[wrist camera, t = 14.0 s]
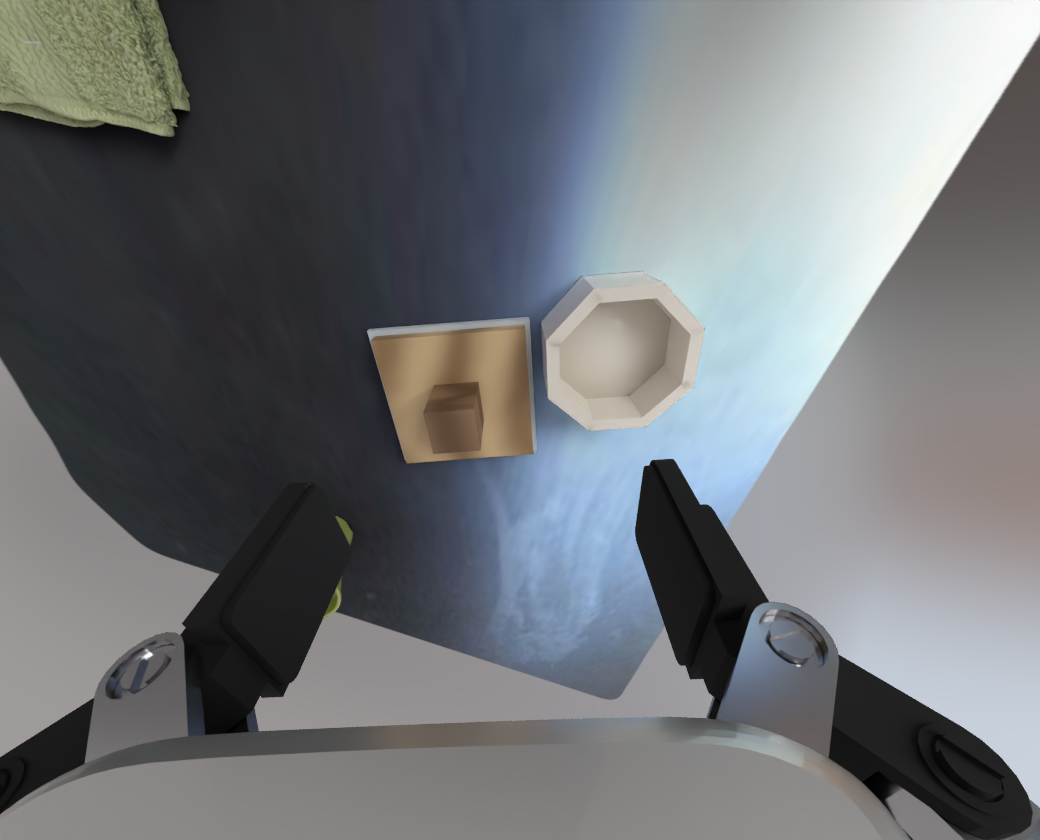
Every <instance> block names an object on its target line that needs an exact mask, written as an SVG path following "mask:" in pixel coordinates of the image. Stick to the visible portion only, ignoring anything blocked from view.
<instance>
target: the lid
mask: <svg viewBox="0 0 1040 840" xmlns="http://www.w3.org/2000/svg"><path fill="white" fill-rule="evenodd" d="M371 345H372V348H373V352H374V355H375V358H376V362H377V365H378V368H379V372H380V375H381V378H382V382H383V385H384V389H385V392H386V395H387V399H388V402H389V405H390V409H391V412H392V416H393V419H394V422H395V426H396V429H397V432H398V436H399V439H400V443H401V446H402V449H403V453H404V456H405V459H406V463H418V462H432V461H445V460H458V459H472V458H485V457H499V456H512V455H525V454H533V440H532V424H531V409H530V394H529V379H528V364H527V348H526V333H525V324H522V325H510V326H497V327H484V328H472V329H459V330H447V331H434V332H422V333H409V334H397V335H384V336H375V337H374V338H373V339H372V340H371Z"/></svg>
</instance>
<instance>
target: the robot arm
mask: <svg viewBox="0 0 1040 840" xmlns="http://www.w3.org/2000/svg"><path fill="white" fill-rule="evenodd" d="M635 535H636V541H637V544H638V547H639V550H640V553H641V556H642V559H643V562H644V565H645V568H646V571H647V574H648V577H649V580H650V583H651V586H652V589H653V592H654V595H655V598H656V601H657V604H658V607H659V610H660V613H661V616H662V619H663V622H664V625H665V627H666V630H667V633H668V636H669V639H670V642H671V645H672V648H673V651H674V654H675V657H676V660H677V661H678V663H679V665H681V666H682V665H686V668H687V671H688V674H689V677H690V679H704V682H705V684H706V687H707V690H708V692H709V693H710V694H711V695H712V696H713V699H712V702H711V706H710V708H709V712H708V715H707V718H685V717H683V718H682V717H631V718H630V717H628V718H586V719H585V718H583V719H557V720H556V719H554V720H526V721H496V722H470V723H448V724H447V723H446V724H445V723H444V724H419V725H394V726H370V727H349V728H348V727H347V728H325V729H303V730H283V731H282V730H281V731H258V725H257V719H256V714H255V709H254V707H255V704H256V703H257V701H258V699H259V697H260V696H261V697H262V698H264V697H265V698H266V697H283V696H284V693H285V691H286V689H287V687H288V685H289V683H291V682H292V681H294V679H295V678H296V677H297V675H298V673H299V671H300V669H301V666H302V664H303V662H304V660H305V657H306V655H307V653H308V650H309V649H310V646H311V644H312V642H313V640H314V637H315V635H316V633H317V630H318V628H319V626H320V624H321V622H322V619H323V617H324V615H325V613H326V610H327V608H328V606H329V604H330V602H331V599H332V597H333V595H334V593H335V590H336V588H337V586H338V584H339V581H340V579H341V577H342V575H343V572H344V570H345V568H346V566H347V564H348V561H349V559H350V556H351V547H350V544H349V542H348V540H347V538H346V536H345V534H344V532H343V530H342V528H341V527H340V525H339V523H338V521H337V519H336V517H335V515H334V513H333V511H332V509H331V507H330V505H329V503H328V501H327V499H326V497H325V495H324V493H323V491H322V489H321V488H320V487H317V486H316V485H315V484H314V483H312V482H307V483H292V484H289V485H288V486H287V487H286V488H285V489H284V491H283V492H282V493H281V495H280V496H279V497H278V499H277V500H276V501H275V502H274V504H273V505H272V506H271V508H270V509H269V510H268V512H267V513H266V514H265V516H264V517H263V518H262V520H261V521H260V522H259V523H258V525H257V526H256V527H255V529H254V530H253V531H252V533H251V534H250V535H249V537H248V538H247V539H246V540H245V542H244V543H243V544H242V546H241V547H240V548H239V550H238V551H237V552H236V554H235V555H234V556H233V558H232V559H231V560H230V561H229V563H228V564H227V565H226V567H225V568H224V569H223V571H222V572H221V573H220V575H219V576H218V577H217V578H216V580H215V581H214V582H213V584H212V585H211V586H210V588H209V589H208V591H207V592H206V593H205V594H204V596H203V597H202V598H201V599H200V601H199V602H198V603H197V605H196V606H195V608H194V609H193V610H192V611H191V613H190V614H189V615H188V616H187V618H186V619H185V620H184V622H183V623H182V624H183V625H184V626H185V627H186V628H185V630H184V631H183V633H182V634H181V635H179V634H177V633H172V632H166V633H162V634H158V635H155V636H153V637H150V638H148V639H146V640H144V641H142V642H140V643H139V644H137V645H136V646H134V647H133V648H131V649H130V650H128V651H127V652H126V653H125V654H124V655H123V656H121V657H120V658H119V659H118V660H117V661H116V662H115V663H114V664H113V665H112V666H111V667H110V668H109V669H108V671H107V672H106V673H105V675H104V676H103V678H102V679H101V681H100V682H99V684H98V687H97V690H96V692H95V696H94V698H93V699H91V700H90V701H88V702H87V703H85V704H83V705H82V706H80V707H79V708H77V709H76V710H74V711H72V712H71V713H69V714H68V715H66V716H65V717H63V718H61V719H60V720H58V721H57V722H55V723H53V724H52V725H50V726H49V727H47V728H46V729H44V730H42V731H41V732H39V733H38V734H36V735H35V736H33V737H32V738H30V739H28V740H27V741H25V742H24V743H22V744H20V745H19V746H17V747H16V748H14V749H13V750H11V751H9V752H8V753H6V754H5V755H3V756H1V757H0V840H1040V808H1039V807H1038V806H1037V805H1036V804H1034V803H1033V802H1032V801H1031V800H1029V797H1028V795H1027V793H1026V791H1025V789H1024V788H1023V786H1022V784H1021V783H1020V781H1019V779H1018V778H1017V776H1016V775H1015V774H1014V773H1013V771H1012V770H1011V769H1010V768H1009V766H1007V764H1006V763H1005V762H1004V761H1003V759H1002V758H1001V757H1000V756H999V755H998V754H996V753H995V752H994V751H993V750H992V749H991V748H990V747H989V746H988V745H986V744H985V743H984V742H983V741H982V740H980V739H979V738H978V737H976V736H975V735H973V734H972V733H970V732H969V731H967V730H966V729H964V728H963V727H961V726H959V725H958V724H956V723H954V722H953V721H951V720H949V719H948V718H946V717H944V716H942V715H941V714H939V713H937V712H935V711H934V710H932V709H930V708H929V707H927V706H925V705H923V704H922V703H920V702H919V701H917V700H915V699H913V698H912V697H910V696H908V695H907V694H905V693H903V692H901V691H900V690H898V689H896V688H894V687H893V686H891V685H890V684H888V683H886V682H884V681H883V680H881V679H879V678H878V677H876V676H874V675H872V674H871V673H869V672H867V671H865V670H864V669H862V668H861V667H859V666H857V665H855V664H854V663H852V662H850V661H849V660H847V659H845V658H843V657H842V656H840V655H838V650H837V648H836V645H835V643H834V641H833V639H832V638H831V636H830V635H829V634H828V632H827V631H826V630H825V628H824V627H823V626H822V625H820V623H818V622H817V621H816V620H815V619H814V618H812V616H810V615H808V614H807V613H805V612H803V611H802V610H800V609H799V608H796V607H793V606H790V605H788V604H785V603H778V602H769V601H768V599H767V598H766V596H765V594H764V593H763V591H762V589H761V588H760V586H759V584H758V583H757V581H756V579H755V578H754V576H753V574H752V573H751V571H750V570H749V568H748V566H747V565H746V563H745V561H744V560H743V558H742V556H741V555H740V553H739V551H738V550H737V548H736V546H735V545H734V543H733V541H732V540H731V538H730V536H729V535H728V533H727V531H726V530H725V528H724V526H723V525H722V523H721V522H720V520H719V518H718V517H717V515H716V513H715V512H714V510H713V509H712V508H711V507H710V506H709V505H700V504H699V502H698V500H697V498H696V497H695V495H694V493H693V491H692V490H691V488H690V486H689V484H688V483H687V481H686V479H685V478H684V476H683V474H682V472H681V471H680V469H679V467H678V465H677V464H676V462H675V461H674V460H673V459H664V460H652V461H651V462H650V466H645V467H644V470H643V477H642V484H641V491H640V499H639V506H638V513H637V520H636V527H635Z"/></svg>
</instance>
